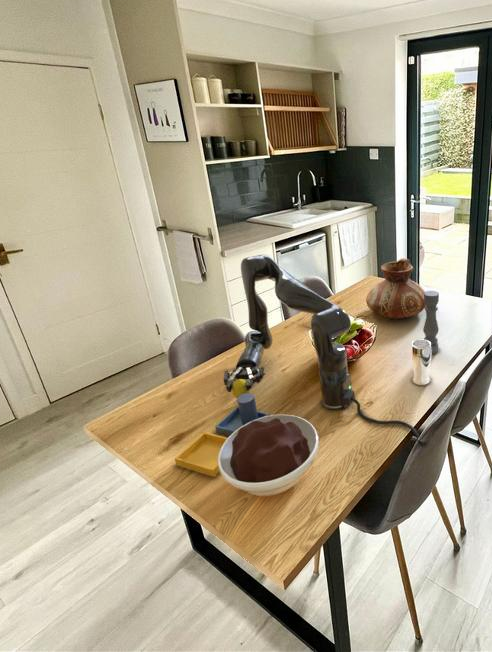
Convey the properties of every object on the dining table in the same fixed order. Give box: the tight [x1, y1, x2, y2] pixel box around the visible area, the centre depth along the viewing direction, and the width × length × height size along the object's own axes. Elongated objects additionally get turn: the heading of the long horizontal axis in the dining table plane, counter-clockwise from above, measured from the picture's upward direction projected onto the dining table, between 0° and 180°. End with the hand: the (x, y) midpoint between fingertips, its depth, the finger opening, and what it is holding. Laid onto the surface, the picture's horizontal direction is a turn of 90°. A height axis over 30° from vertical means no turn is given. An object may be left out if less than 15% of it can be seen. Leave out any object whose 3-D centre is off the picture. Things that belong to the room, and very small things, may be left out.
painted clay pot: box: [365, 257, 426, 320], centre depth 193 cm, size 30×30×25 cm
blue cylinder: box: [236, 392, 259, 425], centre depth 123 cm, size 5×5×9 cm
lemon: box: [231, 379, 251, 399], centre depth 132 cm, size 6×6×8 cm
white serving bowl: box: [218, 413, 320, 497], centre depth 102 cm, size 25×25×15 cm
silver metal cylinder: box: [410, 338, 432, 386], centre depth 140 cm, size 7×7×15 cm
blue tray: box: [215, 405, 270, 436], centre depth 123 cm, size 12×10×2 cm
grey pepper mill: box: [422, 290, 440, 355], centre depth 157 cm, size 6×6×25 cm
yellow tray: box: [174, 431, 228, 478], centre depth 111 cm, size 13×11×2 cm
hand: (238, 388), depth 129 cm, fingers closed on lemon, 5 cm apart
